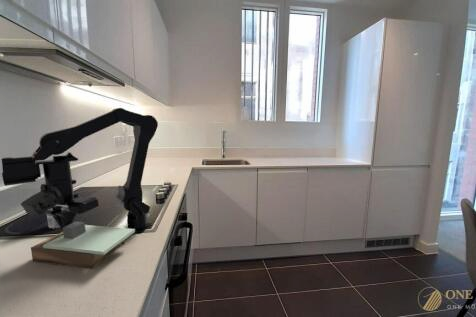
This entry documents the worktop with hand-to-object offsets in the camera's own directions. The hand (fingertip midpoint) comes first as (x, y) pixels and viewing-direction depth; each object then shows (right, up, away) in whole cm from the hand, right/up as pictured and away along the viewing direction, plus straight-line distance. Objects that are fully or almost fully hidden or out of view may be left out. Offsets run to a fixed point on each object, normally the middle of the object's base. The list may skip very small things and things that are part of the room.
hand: (66, 231), depth 63 cm
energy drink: (-16, -4, +17) cm, 23 cm away
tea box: (+4, -6, 0) cm, 7 cm away
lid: (+8, -2, -1) cm, 9 cm away
